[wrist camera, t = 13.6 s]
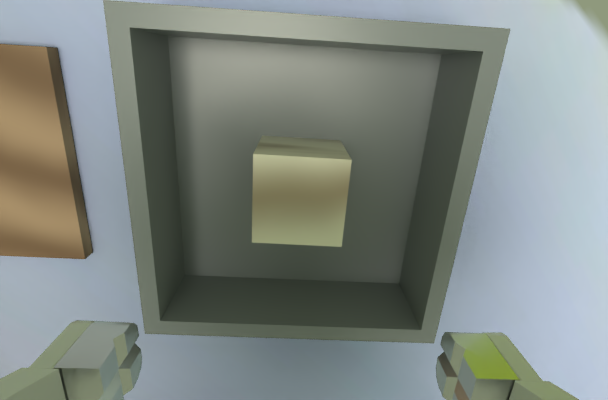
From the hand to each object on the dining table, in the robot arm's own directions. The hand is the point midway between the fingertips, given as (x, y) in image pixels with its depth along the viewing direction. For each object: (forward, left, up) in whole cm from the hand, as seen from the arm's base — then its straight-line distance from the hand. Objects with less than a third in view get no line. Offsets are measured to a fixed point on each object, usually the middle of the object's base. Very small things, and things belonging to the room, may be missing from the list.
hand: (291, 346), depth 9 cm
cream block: (0, 0, -15) cm, 15 cm away
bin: (0, 0, -16) cm, 16 cm away
